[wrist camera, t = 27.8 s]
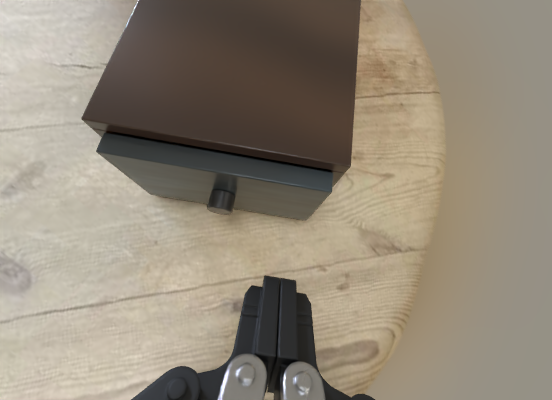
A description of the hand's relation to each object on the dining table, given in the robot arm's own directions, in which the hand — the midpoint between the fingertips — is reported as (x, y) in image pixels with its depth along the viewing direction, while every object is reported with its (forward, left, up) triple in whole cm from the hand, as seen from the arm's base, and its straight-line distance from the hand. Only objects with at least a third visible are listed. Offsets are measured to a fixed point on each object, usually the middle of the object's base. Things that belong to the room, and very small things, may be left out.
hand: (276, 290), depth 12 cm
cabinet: (-4, -14, -7) cm, 16 cm away
